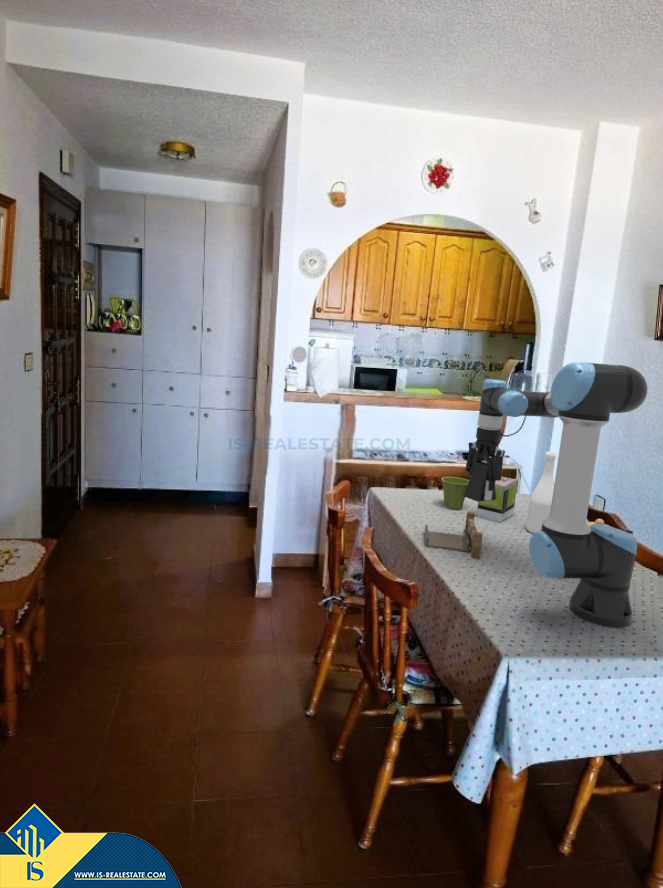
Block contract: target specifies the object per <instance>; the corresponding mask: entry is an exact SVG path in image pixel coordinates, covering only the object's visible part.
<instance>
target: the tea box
mask: <svg viewBox="0 0 663 888" xmlns="http://www.w3.org/2000/svg"><path fill="white" fill-rule="evenodd" d="M518 480H519V479H515V478H511V477H504V476H501V480H497V481H496V482H495V492H496V499H495V500H486V501H479V502H477V509H476V510H477V511H476V518H479V517H480V518H479V519H483V518H484V520H488V521H491V522H496V523H502V522H503V521H505V520H507V519H509V518H510V517H512V516H513V515H514V514H515V507H516V506H515V505H516V497H517V490H518V489H517V488H518V482H519V481H518Z"/></svg>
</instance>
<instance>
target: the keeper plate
mask: <svg viewBox="0 0 663 888" xmlns="http://www.w3.org/2000/svg"><path fill="white" fill-rule="evenodd" d="M424 534H425V535H424V543H425V546H426V547H425V548H430V547H433V548H432V549H438V548H441V549H440V550H447V549H448V551H455V550H457V552H463V551H465V552H466V553H469V552H470V541H469V538H468V534H467V531H466V530H465V528H464V529H463V532H462V534H455V533H446V532H437V531H429V526H428V524H425V525H424Z"/></svg>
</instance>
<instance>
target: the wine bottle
mask: <svg viewBox="0 0 663 888" xmlns="http://www.w3.org/2000/svg"><path fill="white" fill-rule="evenodd" d="M544 458H545V460H544V466H543V472H542V475H541V478H540V479H539V481H538V483H537V484H536V487H535V488H534V491H532V494H531V496H530V499H529V505H528V511H527V518H526V522H525V523H526V524H525V528H526V530H527V531H528V532H529V533H531V534H533V533H535V532H537V531H541V529H542V522H543V521H544V520H545V519H547V518H548V517H549V516H550V511H551V504H552V497H553V490H554V484H555V479H554V471H555V463H556V462H555V461H556V459H557V453H556V452H554V451H550V450H549V451H546V453H545V457H544Z"/></svg>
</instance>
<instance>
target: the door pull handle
mask: <svg viewBox="0 0 663 888" xmlns="http://www.w3.org/2000/svg"><path fill="white" fill-rule="evenodd" d="M475 515H476V514H475V511H467V512H466V518H465V525H464V529H465V530H466V531H467V534H468V538H469V541H470V548H469V550H470V549H471V550H470V553H471V554H470V557H471V559H472V558H474V559H473V560H480V557H481V556H480V555H481V550H482V543H483V532H479V531H477V527H476V525H475Z"/></svg>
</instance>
